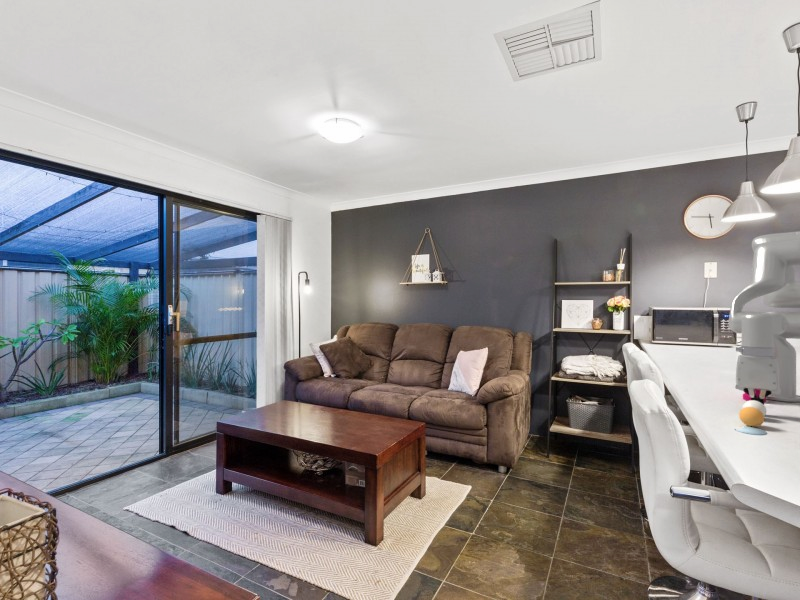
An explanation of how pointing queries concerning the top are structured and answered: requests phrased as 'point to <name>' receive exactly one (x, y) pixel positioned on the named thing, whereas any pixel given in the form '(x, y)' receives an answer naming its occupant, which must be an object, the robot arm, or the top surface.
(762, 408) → the cue ball
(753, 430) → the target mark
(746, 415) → the object ball
